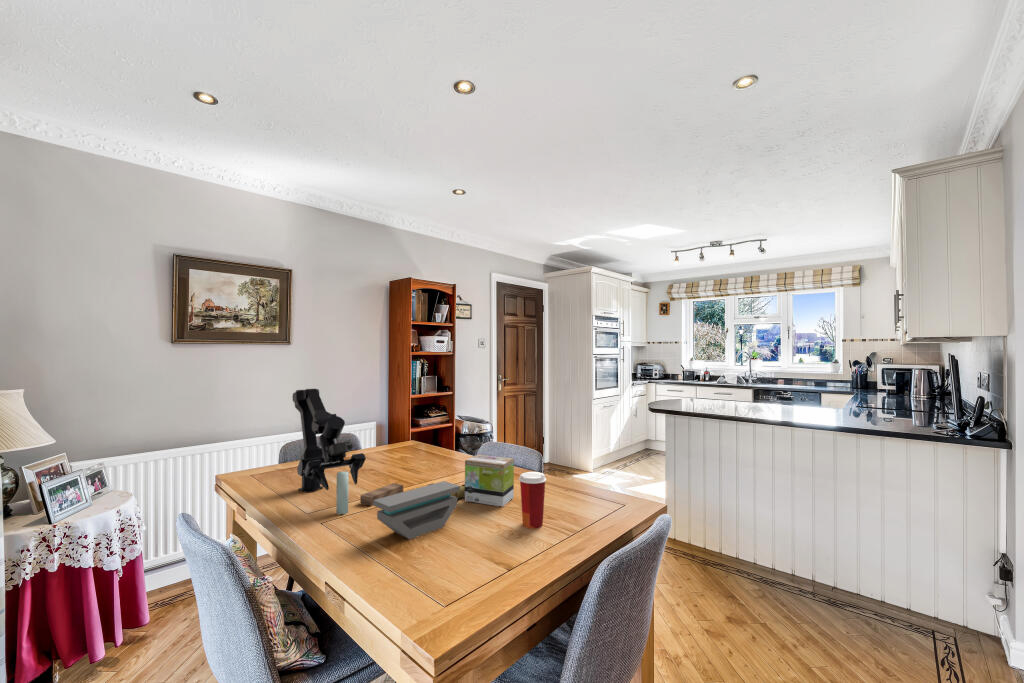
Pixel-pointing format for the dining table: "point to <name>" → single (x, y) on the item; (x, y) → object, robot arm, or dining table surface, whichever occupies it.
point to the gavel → (459, 492)
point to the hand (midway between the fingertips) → (342, 486)
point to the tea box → (489, 480)
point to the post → (342, 493)
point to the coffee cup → (532, 498)
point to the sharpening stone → (418, 509)
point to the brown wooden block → (380, 493)
